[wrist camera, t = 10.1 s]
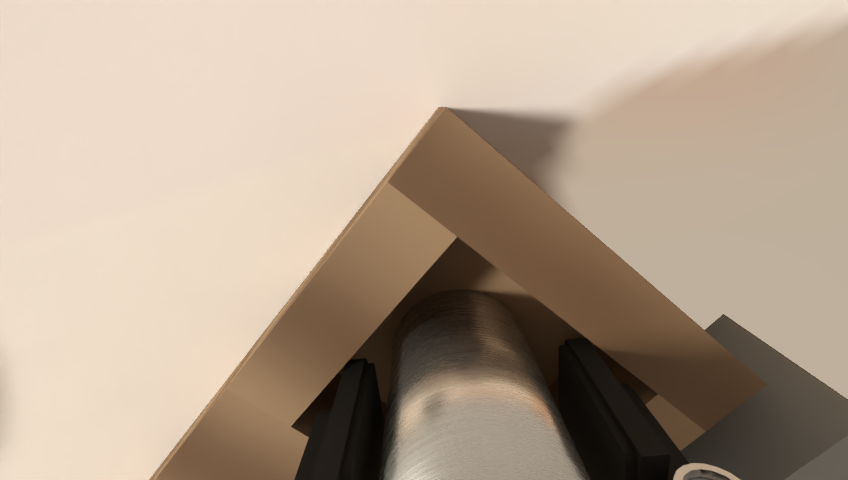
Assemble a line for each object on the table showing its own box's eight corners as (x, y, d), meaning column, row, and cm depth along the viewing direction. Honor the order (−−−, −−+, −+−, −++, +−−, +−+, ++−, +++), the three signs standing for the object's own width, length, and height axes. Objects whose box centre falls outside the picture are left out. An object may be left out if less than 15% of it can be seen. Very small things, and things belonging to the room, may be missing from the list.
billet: (549, 339, 13) (677, 565, 7) (464, 420, 14) (502, 687, 8) (450, 263, 12) (486, 438, 6) (367, 356, 14) (317, 595, 7)
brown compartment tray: (438, 107, 12) (446, 107, 8) (675, 310, 14) (767, 384, 10) (119, 518, 17) (34, 633, 14) (326, 618, 20) (303, 741, 16)
